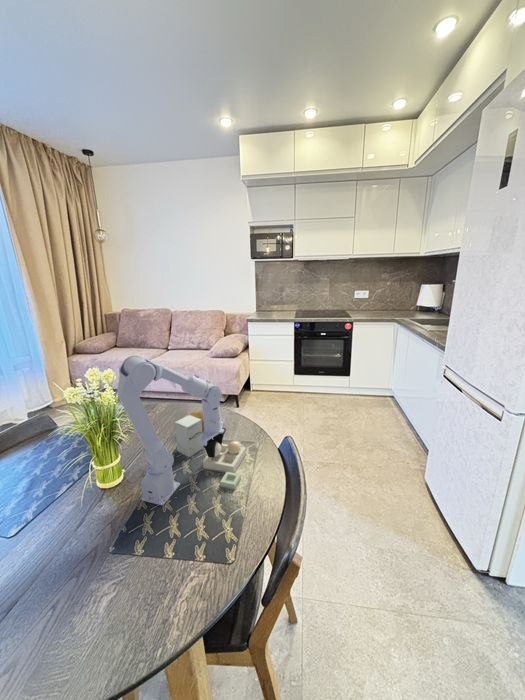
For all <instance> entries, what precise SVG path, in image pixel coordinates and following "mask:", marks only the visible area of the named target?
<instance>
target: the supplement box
mask: <svg viewBox="0 0 525 700" xmlns="http://www.w3.org/2000/svg"><path fill="white" fill-rule="evenodd" d="M173 423H174V429H175V440H176V449H177V452H179V453H180V454H183V456H186V457H188V458H191V457H192V456H194V455H195V454H197V453H198V452H199V451H201V450H203V449H205V448H204V447H203V445H200V439H201V438H202V435H203V431H202V421H201V419H199V418H196V417H194V416H191V415H189V414H187V415H186V416H184V417H182V418H180V419H179V420H178V419H177V420H176V421H174V422H173Z"/></svg>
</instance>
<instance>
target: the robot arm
mask: <svg viewBox="0 0 525 700" xmlns="http://www.w3.org/2000/svg"><path fill="white" fill-rule="evenodd" d="M118 373H119V375H118V378H119V379H118V383H117V384H118V385H117V392H116V394H117V398H118V400H119V402H120V404H121V406H122V408H123V409H124V411H125V414H126V416H127V417H128V419H129V421H130V423H131V424H132V427H133V429H134V431H135V433H136V434H137V437H138V438H139V440H140V442H141V444H140V445H141V446H142V456H143V458H144V459H145V460H146V461H147V464H146V473H145V475H144V477H143V478H142V479H141V482H140V489H141V493H142V497H141V498H140V500H141V501H142V502H147V503H151V504H155V505H159V506H164V505H165V504H166V502H167V501H168V500H169V499H170V498H171V497H172V495H173V494H174V493H175V492H176V491H177V489H178V488H179V487H180V486H181V483H180V482H178V481H175V480H174V473H173V465H174V461H175V457H174V455H173V454H172V453H171V452H170V451H168V449H167V448H166V447H165V445H164V444H163V442H162V441H161V439H160V437H159V435H158V433H157V431H156V429H155V426H154V424H153V423H152V420H151V418H150V416H149V414H148V411H147V410H146V408H145V405H144V404H143V402H142V400H141V398H140V396H141V393H142V392H143V391H144V390H145V389H146V388H147V387H148V386H149V385H150V384H151V383H152V382H153V381H155V382H157V381H159V380H161V379H163V380H166V381H169V382H171V383H174V384H177V385H179V386H180V387H181V391H183V392H185V393H187V394H190V395H191V396H194V397H197V398H200V399H201V408H202V411H203V420H204V431H202V433H203V435H202V438H201V439H200V445H203V447H204V448H203V449H204V450H205V452H206V456H207V455H208V457H211V458H214V456H215V446H216V443H217V442H218V443H220V445H221V446H222V444H223V439H224V435H225V434H226V433H225V432H226V431H227V429H226V427H223V426H224V425H225V419H223V418H221V407H220V405H221V403H220V402H221V399H222V397H223V392H221V391H222V390H221V388H220V387H218V386H216V385H214V384H213V383H211V381H210V380H207V379H206V380H204V379H202V378H201V377H200V375H198V374H196V373H194V374H188V375H183V374H182V373H180V372H178V371H176V370H174V369H171V368H170V367H167V365H163V364H162V363H159V362H157V361H154V360H151V359H148V358H142V357H141V356H139V355H130V356H128V357H126V358H125V359H124V360H123V362H122V364H121V365H120V367H119V369H118Z"/></svg>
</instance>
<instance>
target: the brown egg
mask: <svg viewBox="0 0 525 700" xmlns="http://www.w3.org/2000/svg"><path fill="white" fill-rule="evenodd" d="M227 445H228V452H229V453H230V454H234V455H236V454H238V453H239V452H240V450H241V447H242V445H241V444H240V442H238V441H237V440H233V441H232V440H231V441H230V442H229V443H228V444H227Z"/></svg>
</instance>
